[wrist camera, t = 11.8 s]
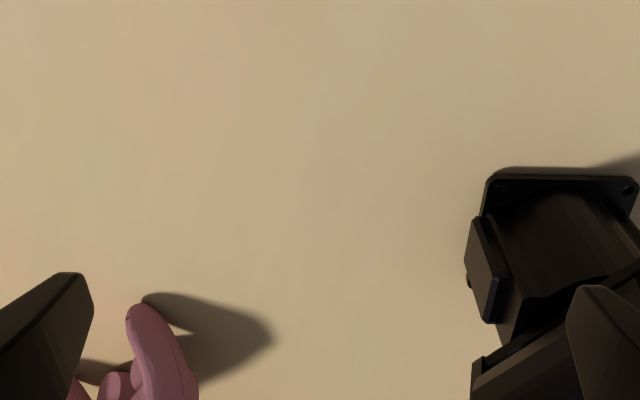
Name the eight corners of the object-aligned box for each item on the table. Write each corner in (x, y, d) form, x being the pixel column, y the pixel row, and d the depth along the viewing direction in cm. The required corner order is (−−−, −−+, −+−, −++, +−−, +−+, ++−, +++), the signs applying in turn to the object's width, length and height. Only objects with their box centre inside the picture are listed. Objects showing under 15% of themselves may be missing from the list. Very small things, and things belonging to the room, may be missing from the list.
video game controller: (103, 376, 34) (106, 493, 30) (33, 370, 31) (26, 501, 27) (202, 308, 30) (220, 431, 26) (134, 293, 27) (144, 431, 23)
